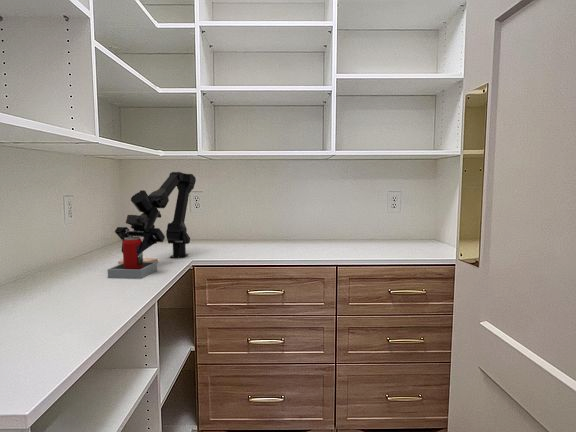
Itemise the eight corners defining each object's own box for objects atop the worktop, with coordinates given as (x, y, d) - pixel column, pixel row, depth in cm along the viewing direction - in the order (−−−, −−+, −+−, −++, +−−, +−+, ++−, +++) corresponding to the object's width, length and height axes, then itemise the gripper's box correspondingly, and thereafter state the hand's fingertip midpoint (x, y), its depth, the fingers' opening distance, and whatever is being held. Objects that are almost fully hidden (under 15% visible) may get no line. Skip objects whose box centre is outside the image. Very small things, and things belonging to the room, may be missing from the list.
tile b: (146, 260, 162) (146, 257, 162) (157, 261, 160) (157, 258, 160) (136, 263, 156) (136, 260, 156) (148, 264, 154) (147, 261, 154)
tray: (126, 269, 146) (126, 261, 145) (157, 270, 144) (156, 262, 144) (107, 277, 133) (107, 269, 133) (141, 278, 132) (140, 270, 132)
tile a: (123, 260, 161) (123, 258, 160) (137, 260, 161) (137, 258, 161) (118, 264, 155) (118, 261, 154) (133, 263, 155) (133, 261, 155)
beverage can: (145, 269, 138) (143, 238, 137) (126, 272, 134) (124, 240, 133) (140, 266, 144) (139, 235, 142) (122, 268, 140) (120, 237, 138)
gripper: (116, 206, 142) (96, 239, 133) (159, 207, 138) (141, 241, 128) (131, 223, 151) (113, 255, 142) (171, 225, 146) (156, 258, 137)
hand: (130, 252), depth 137 cm, fingers closed on beverage can, 7 cm apart
